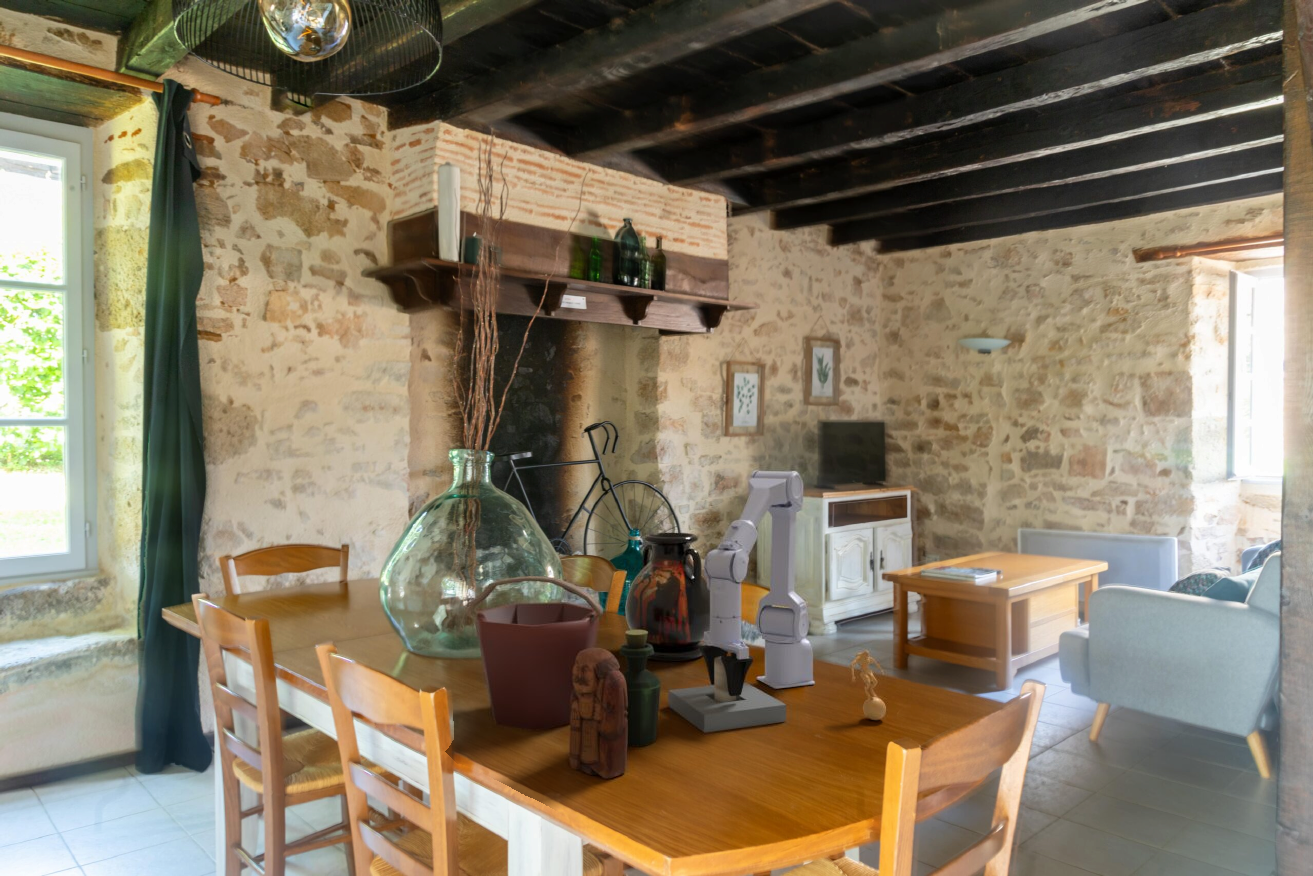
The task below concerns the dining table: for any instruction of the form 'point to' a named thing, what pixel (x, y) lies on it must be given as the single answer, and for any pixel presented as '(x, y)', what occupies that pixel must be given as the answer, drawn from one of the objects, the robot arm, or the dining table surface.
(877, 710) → the figurine
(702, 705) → the socket block
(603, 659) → the wooden figurine
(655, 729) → the potion bottle
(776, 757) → the dining table surface
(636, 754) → the dining table surface
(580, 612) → the bucket
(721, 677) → the birch dowel
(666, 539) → the amphora vase
